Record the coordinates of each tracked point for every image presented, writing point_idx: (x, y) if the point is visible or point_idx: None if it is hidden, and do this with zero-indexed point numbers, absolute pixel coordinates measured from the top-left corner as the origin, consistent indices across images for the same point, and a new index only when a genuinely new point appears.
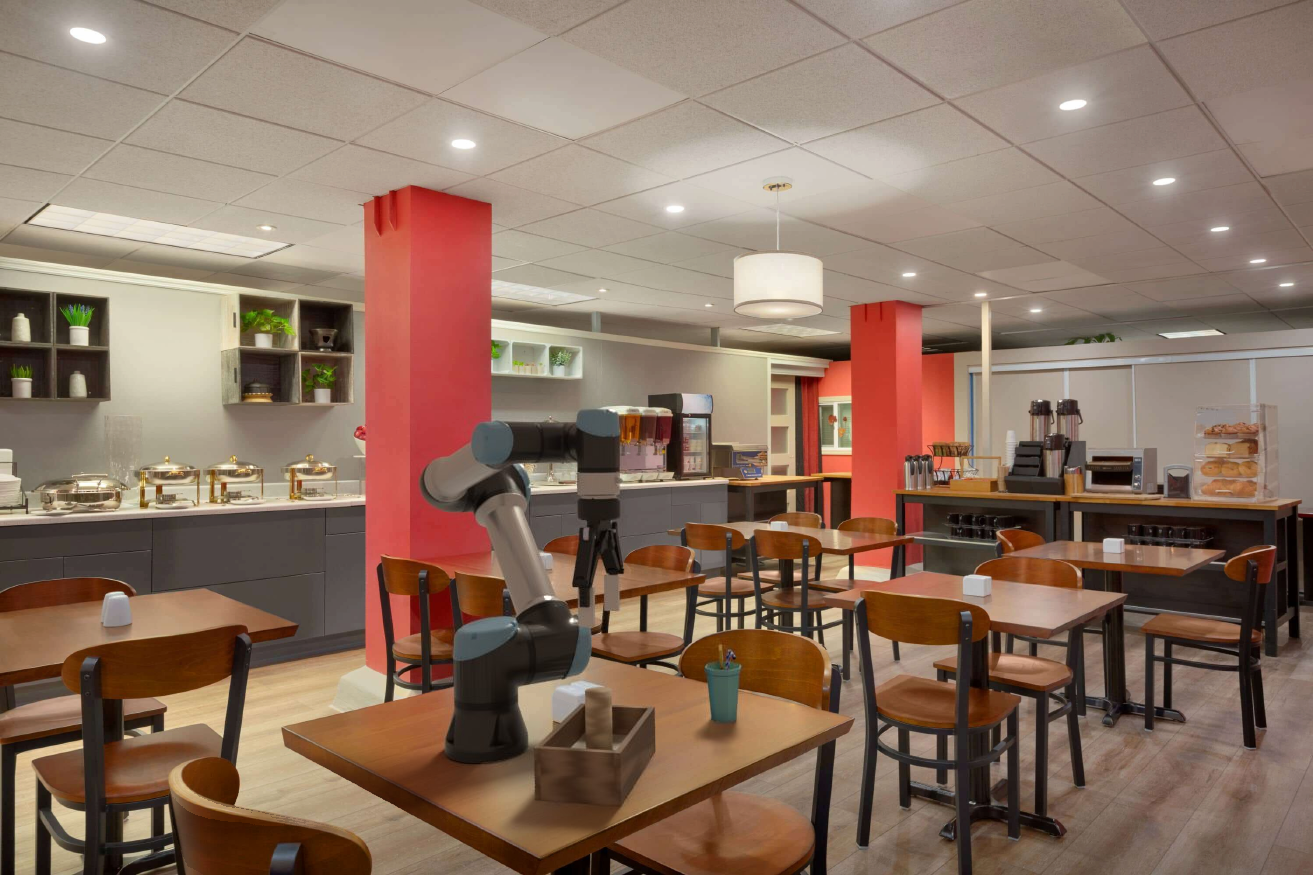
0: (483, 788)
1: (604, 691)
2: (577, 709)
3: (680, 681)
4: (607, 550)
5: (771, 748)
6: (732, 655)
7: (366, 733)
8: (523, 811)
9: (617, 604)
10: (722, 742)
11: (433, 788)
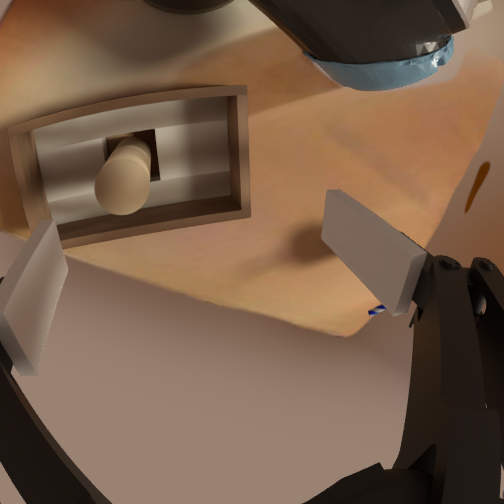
0: (48, 37)
1: (118, 204)
2: (208, 92)
3: (468, 154)
4: (411, 436)
5: (270, 308)
6: (373, 313)
7: None
8: (4, 127)
9: (331, 247)
10: (281, 259)
11: None
